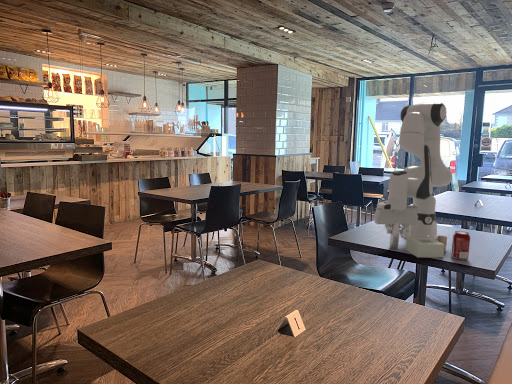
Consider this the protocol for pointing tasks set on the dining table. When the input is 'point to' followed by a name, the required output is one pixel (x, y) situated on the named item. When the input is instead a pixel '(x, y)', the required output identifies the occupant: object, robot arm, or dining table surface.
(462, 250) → the soda can
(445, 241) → the short wooden pin
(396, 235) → the white tall square block
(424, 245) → the hole block
